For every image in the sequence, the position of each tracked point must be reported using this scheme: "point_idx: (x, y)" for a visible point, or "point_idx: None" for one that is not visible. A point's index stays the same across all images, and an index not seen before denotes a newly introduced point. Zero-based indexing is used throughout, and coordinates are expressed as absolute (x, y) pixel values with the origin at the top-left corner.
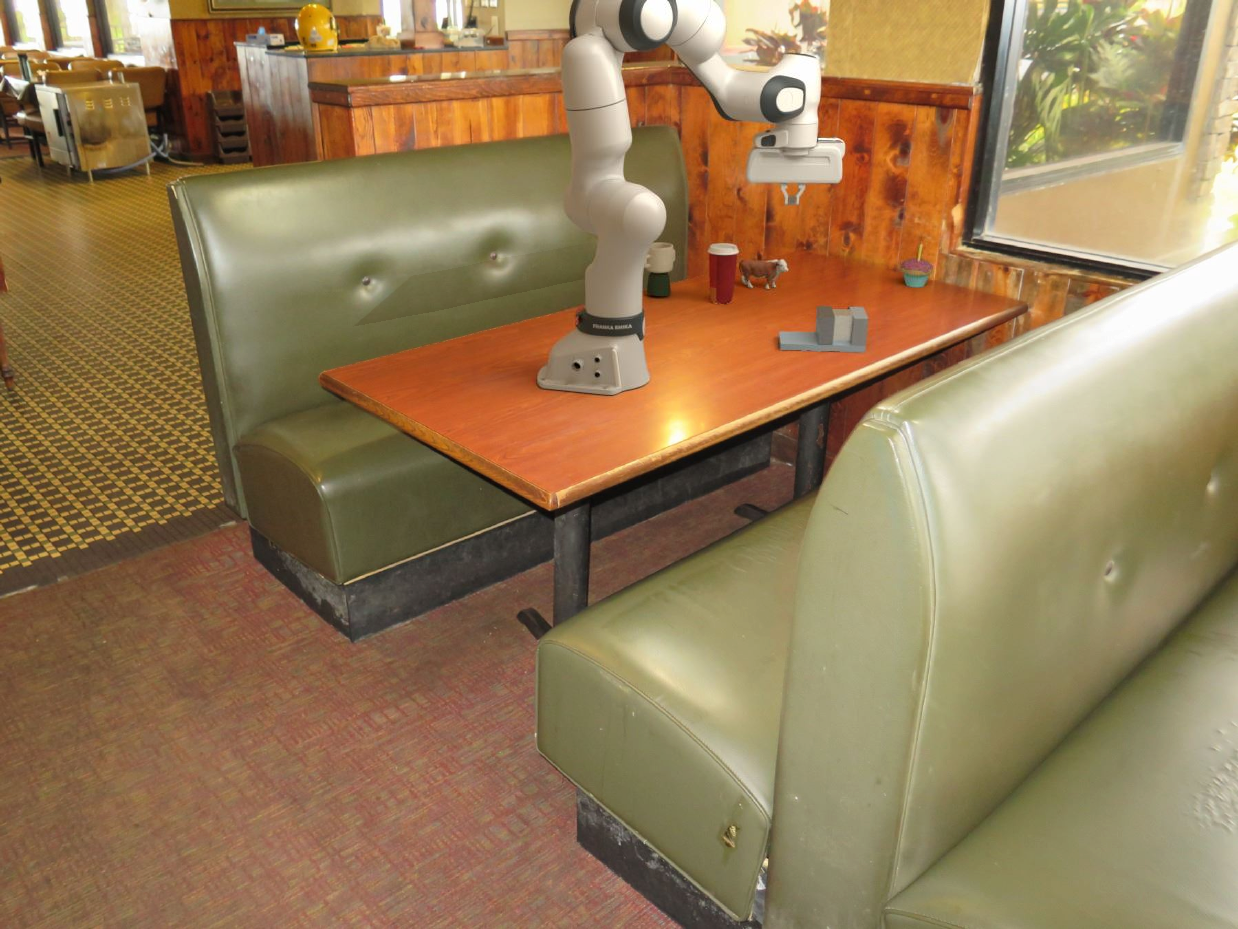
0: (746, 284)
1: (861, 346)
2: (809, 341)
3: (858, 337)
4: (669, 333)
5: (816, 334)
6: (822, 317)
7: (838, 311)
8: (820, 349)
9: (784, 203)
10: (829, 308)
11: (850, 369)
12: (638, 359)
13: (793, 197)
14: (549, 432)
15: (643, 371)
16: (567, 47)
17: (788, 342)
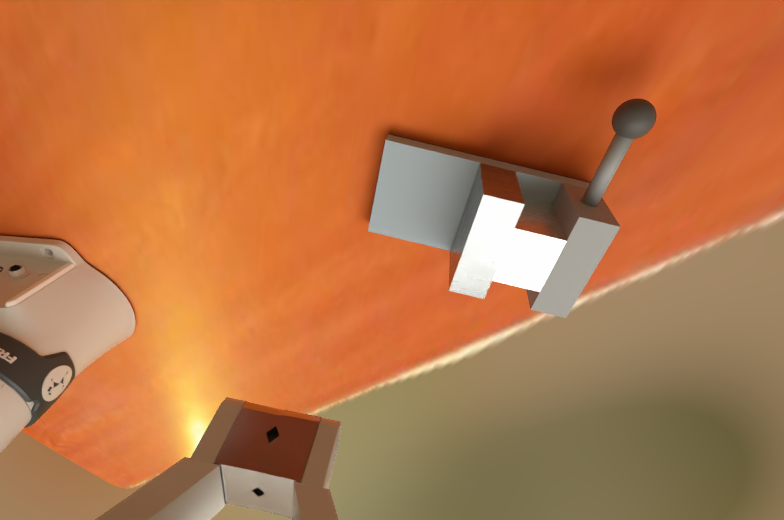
0: None
1: None
2: (437, 227)
3: None
4: (104, 49)
5: (468, 199)
6: (453, 291)
7: (520, 252)
8: None
9: (228, 400)
10: (507, 227)
11: (472, 334)
12: (95, 359)
13: (272, 504)
14: (69, 415)
15: (117, 340)
16: None
17: (387, 226)
